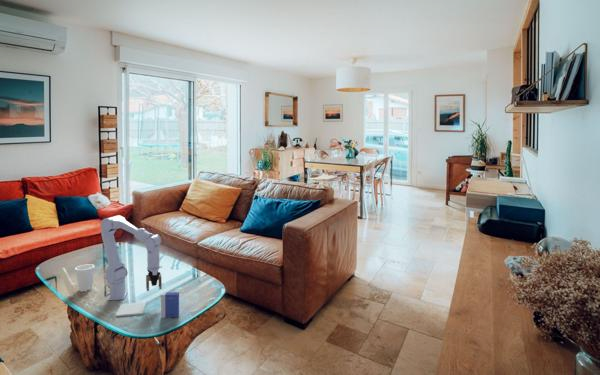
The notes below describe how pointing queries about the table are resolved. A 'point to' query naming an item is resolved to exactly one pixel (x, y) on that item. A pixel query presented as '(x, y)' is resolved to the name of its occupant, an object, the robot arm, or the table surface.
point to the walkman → (169, 304)
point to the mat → (131, 309)
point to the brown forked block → (150, 280)
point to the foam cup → (85, 276)
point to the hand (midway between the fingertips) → (153, 283)
